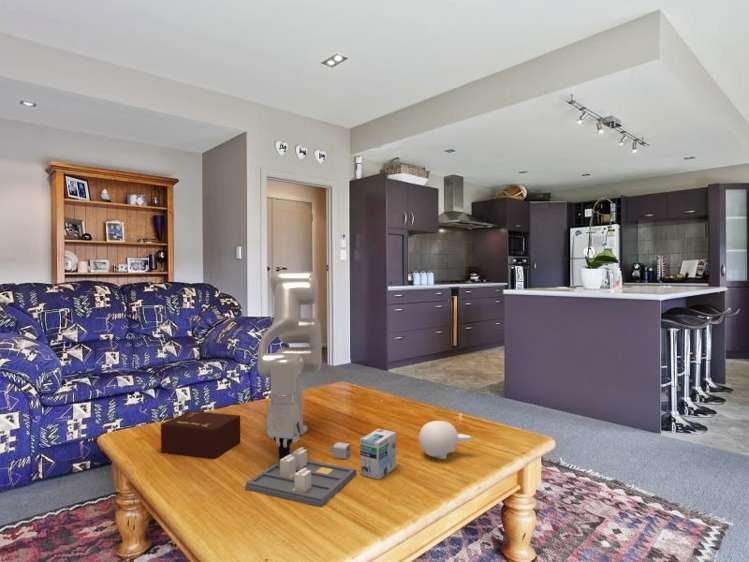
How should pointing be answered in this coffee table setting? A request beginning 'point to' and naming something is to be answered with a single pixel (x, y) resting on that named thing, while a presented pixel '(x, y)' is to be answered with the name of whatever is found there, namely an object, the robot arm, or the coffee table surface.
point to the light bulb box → (378, 453)
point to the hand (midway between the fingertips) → (284, 458)
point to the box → (200, 434)
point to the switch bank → (322, 483)
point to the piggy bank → (440, 438)
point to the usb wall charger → (341, 450)
